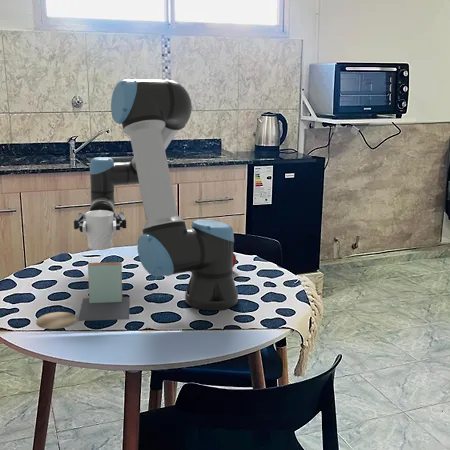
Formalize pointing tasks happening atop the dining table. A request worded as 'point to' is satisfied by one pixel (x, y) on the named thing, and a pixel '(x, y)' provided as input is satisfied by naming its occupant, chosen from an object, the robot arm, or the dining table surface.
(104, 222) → the white cup
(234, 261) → the onion
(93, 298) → the tile
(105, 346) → the dining table surface
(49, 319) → the coaster
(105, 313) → the mat
